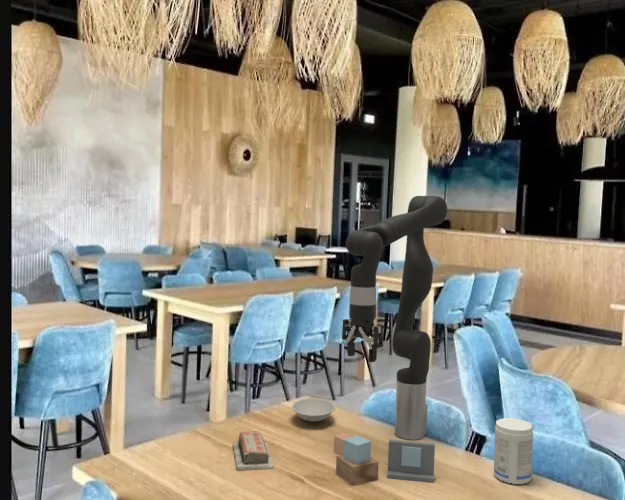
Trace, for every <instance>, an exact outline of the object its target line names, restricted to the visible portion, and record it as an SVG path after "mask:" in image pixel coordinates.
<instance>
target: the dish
mask: <svg viewBox="0 0 625 500" xmlns="http://www.w3.org/2000/svg"><path fill="white" fill-rule="evenodd" d="M291 409H292V411H294V412H295V413H296V415H297V416H298V417H300V418H301V419H302V420H304V421H307V422H313V423H314V422H315V423H316V422H320V421H324V420H325V419H327V418H328V417H330V415H331V414H332V413H334V411H335V410H336V405H335V403H334V402H333V401H331V400H328V399H324V398H319V397H309V398H302V399H298V400H296V401H294V402H293V404H291Z"/></svg>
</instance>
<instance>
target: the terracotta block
mask: <svg viewBox="0 0 625 500" xmlns="http://www.w3.org/2000/svg"><path fill="white" fill-rule="evenodd" d="M354 436H356V435H355V434H352V433H350V432H348V431H347V432H343V433H339V434H336V435H334V436H333V439H334V440H333V453H334V454H336V455H337V456H338V455H343V454H344V439H348V438H351V437H354Z"/></svg>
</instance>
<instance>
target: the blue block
mask: <svg viewBox="0 0 625 500" xmlns="http://www.w3.org/2000/svg"><path fill="white" fill-rule="evenodd" d="M371 452H372V441H371V440H369V439H367V438H365V437H362V436H360V435H355V436H354V437H351V438H348V439H344V459H346V460H348V461H351V462H353V463H355V464H360V463H362V462H365V461H368V460H370V459H371V457H372V455H371V454H372V453H371Z"/></svg>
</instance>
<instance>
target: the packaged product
mask: <svg viewBox="0 0 625 500" xmlns="http://www.w3.org/2000/svg"><path fill="white" fill-rule="evenodd" d="M238 436H239V437H238V441H236V440H235V441H232V447H233V455H234V462H235V466H236V470H237V472H239V471H258V470H260V471H261V470H273V469H274V467H275V466H274V463H273V460H272V456H271V453H270V451H269V448H268V444H267V441H266V440H264V437H263V434H262V432H259V431H256V430H254V431H242V432H239V435H238Z"/></svg>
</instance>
